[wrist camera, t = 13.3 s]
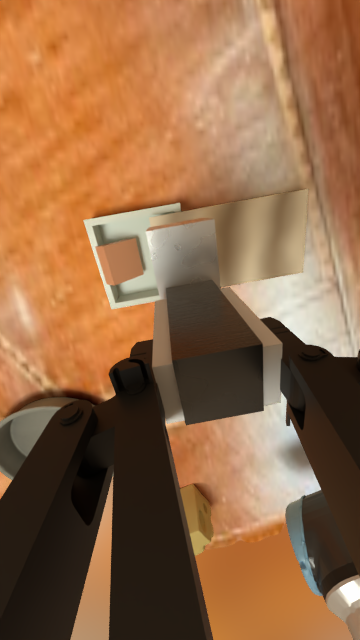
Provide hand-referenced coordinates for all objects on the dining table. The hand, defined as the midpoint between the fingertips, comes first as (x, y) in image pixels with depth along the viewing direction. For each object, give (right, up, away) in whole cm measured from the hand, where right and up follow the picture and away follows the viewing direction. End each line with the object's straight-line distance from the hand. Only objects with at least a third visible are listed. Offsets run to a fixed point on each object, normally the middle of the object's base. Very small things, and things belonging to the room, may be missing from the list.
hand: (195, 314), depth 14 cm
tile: (-8, +7, +16) cm, 20 cm away
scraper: (0, +2, +5) cm, 5 cm away
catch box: (-6, +9, +20) cm, 23 cm away
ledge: (+5, +11, +20) cm, 23 cm away
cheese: (0, -47, +47) cm, 67 cm away
